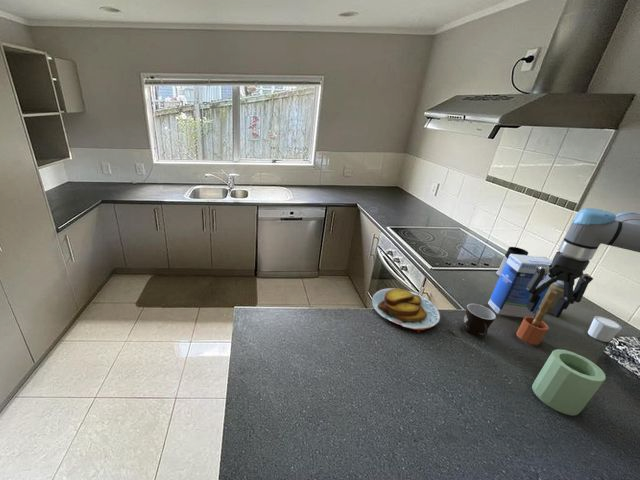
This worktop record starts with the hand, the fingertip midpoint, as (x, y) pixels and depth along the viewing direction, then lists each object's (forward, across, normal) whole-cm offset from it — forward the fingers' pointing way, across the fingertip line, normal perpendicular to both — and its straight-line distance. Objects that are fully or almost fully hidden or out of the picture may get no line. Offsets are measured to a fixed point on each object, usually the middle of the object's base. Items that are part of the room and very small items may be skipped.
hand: (542, 312), depth 99 cm
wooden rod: (+12, 0, 0) cm, 12 cm away
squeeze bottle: (+13, -17, -25) cm, 33 cm away
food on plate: (+13, +42, +1) cm, 44 cm away
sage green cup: (+13, +3, +26) cm, 29 cm away
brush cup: (+13, 0, 0) cm, 13 cm away
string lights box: (+13, 0, -16) cm, 21 cm away
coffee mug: (+13, +19, +5) cm, 24 cm away
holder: (+13, -12, -49) cm, 52 cm away
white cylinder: (+13, -27, -13) cm, 33 cm away
